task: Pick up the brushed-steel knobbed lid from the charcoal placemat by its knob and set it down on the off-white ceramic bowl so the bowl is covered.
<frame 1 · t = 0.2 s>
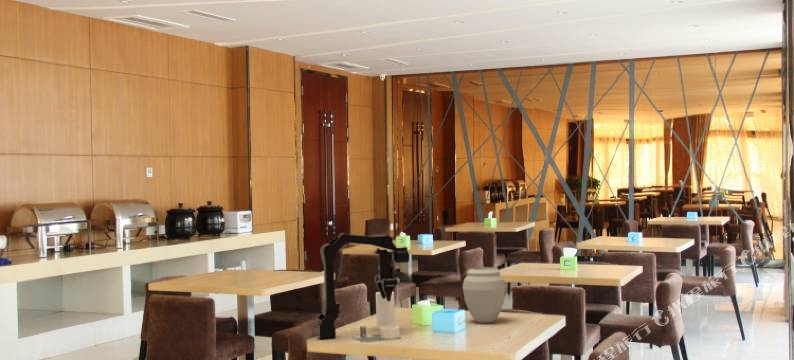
hand: (386, 299, 350), 14 cm above the table, fingers open, 9 cm apart
vase: (485, 322, 368), on the table
lid: (363, 337, 339), resting on placemat
bowl: (389, 337, 336), resting on placemat
cup: (386, 328, 361), on the table
placemat: (377, 338, 337), on the table
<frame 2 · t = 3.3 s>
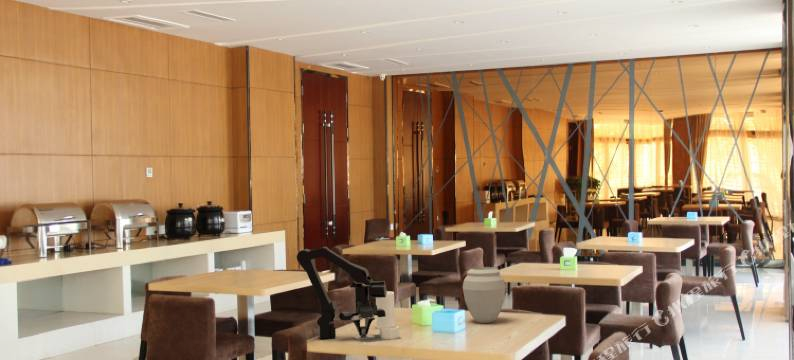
hand: (363, 335, 339), 1 cm above the table, fingers closed on lid, 2 cm apart
lid: (363, 337, 339), resting on placemat, touching gripper
everything else where it was.
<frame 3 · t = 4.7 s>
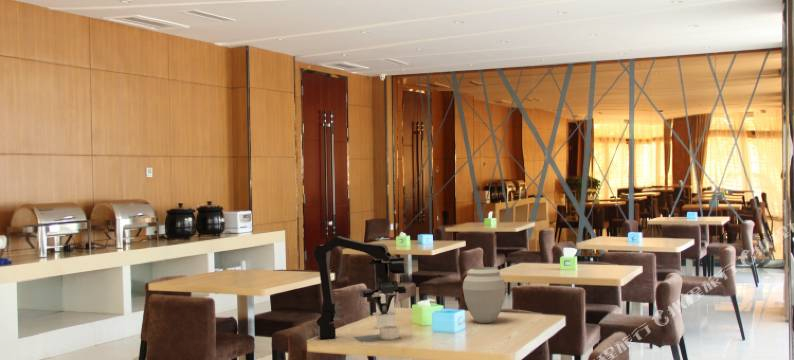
hand: (384, 312, 337), 11 cm above the table, fingers closed on lid, 2 cm apart
lid: (384, 314, 337), point 10 cm above the table, touching gripper
everything else where it was.
when the fingers open (7 cm above the table, at t = 6.1 s): lid drops 1 cm, resting on bowl.
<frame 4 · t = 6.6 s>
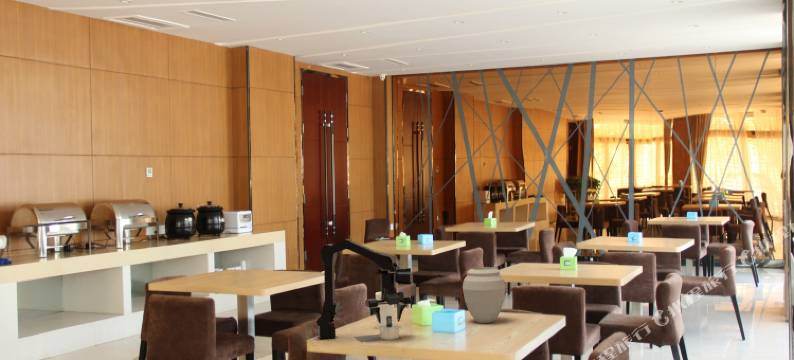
hand: (389, 322, 336), 7 cm above the table, fingers open, 8 cm apart
lid: (389, 327, 336), point 5 cm above the table, touching bowl
bowl: (389, 337, 336), resting on placemat, touching lid
everything else where it was.
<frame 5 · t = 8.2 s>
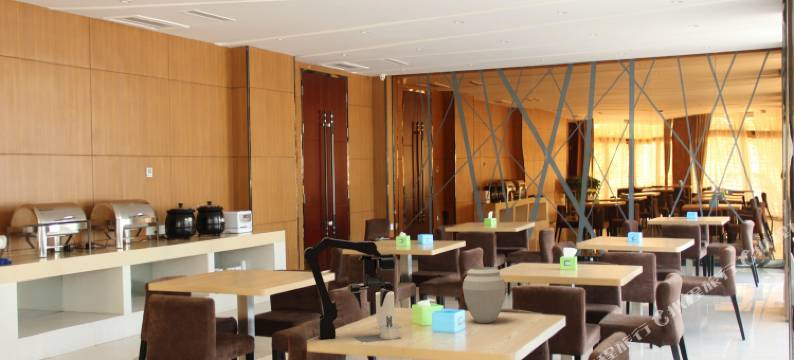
hand: (370, 307, 344), 12 cm above the table, fingers open, 9 cm apart
nothing on the table moved.
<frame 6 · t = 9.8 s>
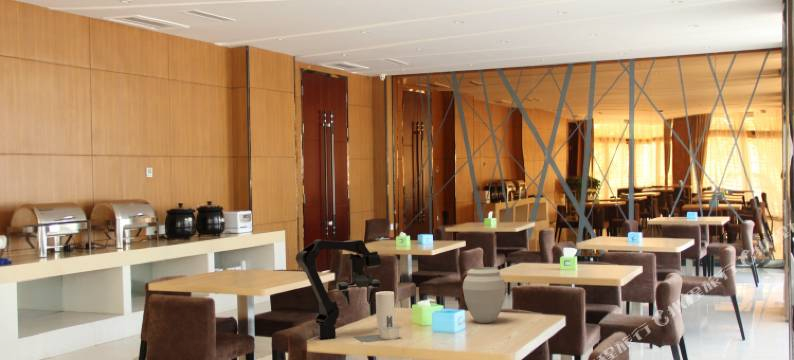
hand: (359, 304, 350), 13 cm above the table, fingers open, 9 cm apart
nothing on the table moved.
at the end: lid 0.1 cm off-centre on the bowl, point 4.4 cm above the bowl's base; lid tilted 0°; the gripper is holding nothing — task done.
